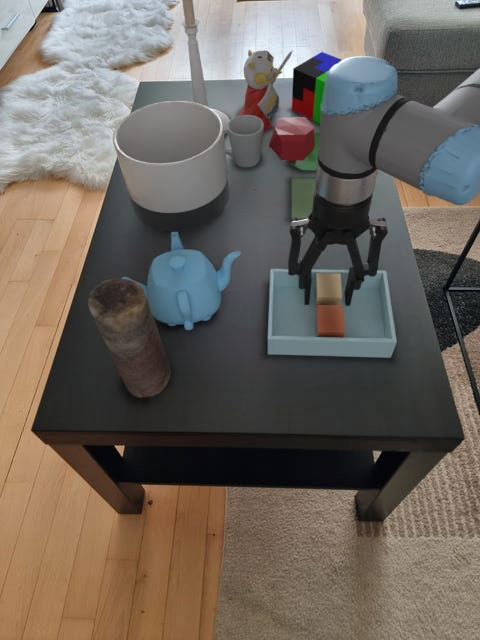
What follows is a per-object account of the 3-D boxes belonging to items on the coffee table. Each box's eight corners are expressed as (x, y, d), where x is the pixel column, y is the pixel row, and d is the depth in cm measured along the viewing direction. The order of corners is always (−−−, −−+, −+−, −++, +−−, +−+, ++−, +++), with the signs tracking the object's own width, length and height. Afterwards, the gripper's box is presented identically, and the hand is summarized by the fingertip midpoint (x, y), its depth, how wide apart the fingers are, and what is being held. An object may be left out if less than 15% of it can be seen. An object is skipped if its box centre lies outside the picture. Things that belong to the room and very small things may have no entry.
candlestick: (226, 108, 118) (215, -35, 94) (233, 138, 111) (222, -9, 87) (175, 115, 118) (150, -28, 94) (178, 145, 110) (152, -1, 86)
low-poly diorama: (270, 135, 111) (270, 98, 104) (358, 135, 109) (364, 97, 102) (267, 176, 102) (266, 139, 95) (362, 177, 100) (369, 139, 93)
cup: (264, 170, 103) (263, 135, 97) (218, 171, 104) (214, 136, 97) (264, 149, 108) (264, 114, 101) (220, 150, 109) (217, 115, 102)
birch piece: (337, 290, 83) (340, 273, 79) (339, 314, 80) (342, 297, 76) (314, 290, 83) (316, 273, 79) (314, 313, 80) (317, 296, 76)
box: (381, 287, 83) (386, 270, 79) (390, 357, 75) (396, 342, 71) (270, 285, 85) (270, 268, 81) (267, 354, 76) (267, 338, 73)
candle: (139, 351, 78) (104, 269, 62) (180, 363, 76) (155, 282, 60) (117, 391, 74) (73, 315, 58) (160, 405, 72) (127, 330, 56)
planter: (151, 175, 105) (132, 97, 90) (238, 182, 102) (232, 103, 87) (123, 237, 94) (96, 160, 79) (219, 247, 91) (209, 169, 76)
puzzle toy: (318, 93, 120) (322, 51, 112) (350, 107, 116) (356, 65, 108) (291, 109, 116) (293, 68, 108) (323, 125, 112) (327, 83, 104)
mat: (349, 180, 100) (349, 178, 100) (353, 220, 93) (353, 218, 93) (291, 180, 101) (291, 178, 101) (291, 219, 94) (291, 217, 94)
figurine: (281, 134, 111) (283, 68, 99) (233, 130, 113) (229, 65, 101) (290, 103, 118) (292, 38, 106) (245, 100, 120) (242, 36, 108)
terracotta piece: (339, 322, 79) (343, 305, 75) (341, 347, 76) (344, 331, 72) (315, 321, 79) (317, 304, 75) (315, 347, 76) (318, 331, 73)
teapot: (187, 260, 89) (177, 214, 80) (245, 295, 84) (241, 249, 75) (127, 313, 83) (109, 270, 74) (185, 354, 77) (173, 313, 68)
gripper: (415, 169, 63) (382, 282, 82) (270, 170, 65) (270, 280, 84) (424, 208, 59) (387, 318, 78) (268, 207, 60) (269, 315, 79)
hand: (326, 298), depth 81 cm, fingers open, 6 cm apart
